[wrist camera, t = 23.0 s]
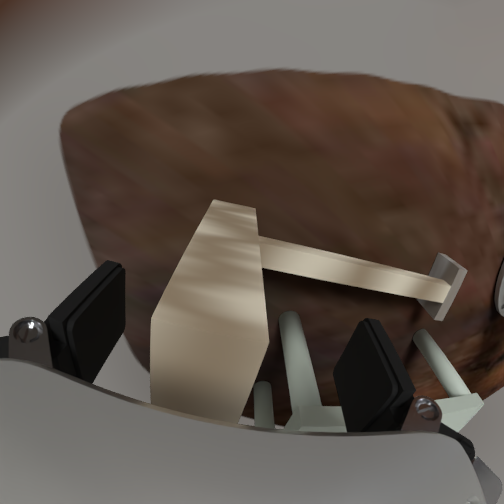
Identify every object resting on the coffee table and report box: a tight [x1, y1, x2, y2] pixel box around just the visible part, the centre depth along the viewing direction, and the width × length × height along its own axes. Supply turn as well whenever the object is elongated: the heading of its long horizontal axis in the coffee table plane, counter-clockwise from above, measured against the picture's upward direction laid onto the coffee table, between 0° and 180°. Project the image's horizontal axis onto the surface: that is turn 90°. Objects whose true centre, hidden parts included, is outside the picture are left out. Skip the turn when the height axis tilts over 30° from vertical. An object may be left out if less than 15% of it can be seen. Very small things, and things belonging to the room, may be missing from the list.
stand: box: [254, 311, 484, 432], centre depth 20 cm, size 17×11×12 cm, turn 77°
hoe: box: [150, 200, 467, 424], centre depth 15 cm, size 21×5×14 cm, turn 77°
